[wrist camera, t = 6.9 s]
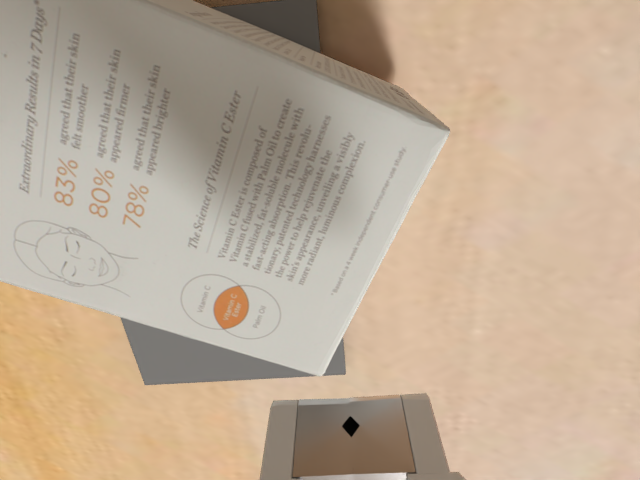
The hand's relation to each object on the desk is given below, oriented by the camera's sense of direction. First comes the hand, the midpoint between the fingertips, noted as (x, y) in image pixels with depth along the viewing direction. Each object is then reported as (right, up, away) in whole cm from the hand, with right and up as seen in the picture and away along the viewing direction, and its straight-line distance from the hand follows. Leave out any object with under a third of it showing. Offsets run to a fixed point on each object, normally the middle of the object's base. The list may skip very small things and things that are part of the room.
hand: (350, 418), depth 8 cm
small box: (+1, +4, +5) cm, 7 cm away
